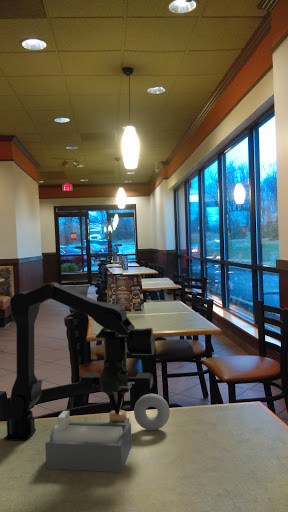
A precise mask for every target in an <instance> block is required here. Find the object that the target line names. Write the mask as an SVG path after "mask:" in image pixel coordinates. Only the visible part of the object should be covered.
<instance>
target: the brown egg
mask: <svg viewBox="0 0 288 512" xmlns="http://www.w3.org/2000/svg"><path fill="white" fill-rule="evenodd" d="M108 415H109V420H110V421H112V422H115V423H121V422H122V421H125V420H126V418H127V412H126V410H123V409H120V412H119V414H116V413H115V411H114V410H111V411H110V412H109V414H108Z"/></svg>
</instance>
